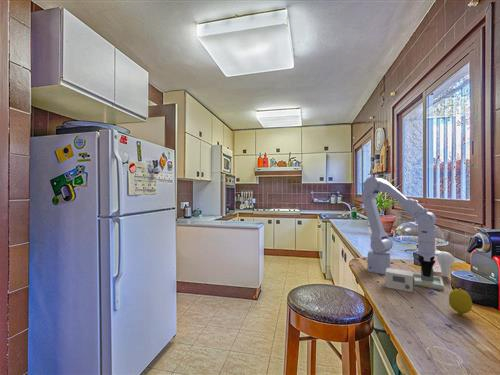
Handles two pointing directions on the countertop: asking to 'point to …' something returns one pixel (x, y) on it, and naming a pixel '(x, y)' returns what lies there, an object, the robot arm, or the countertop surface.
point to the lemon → (460, 301)
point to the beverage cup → (436, 262)
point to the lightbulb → (445, 262)
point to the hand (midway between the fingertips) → (426, 274)
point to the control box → (400, 279)
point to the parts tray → (435, 284)
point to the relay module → (427, 277)
